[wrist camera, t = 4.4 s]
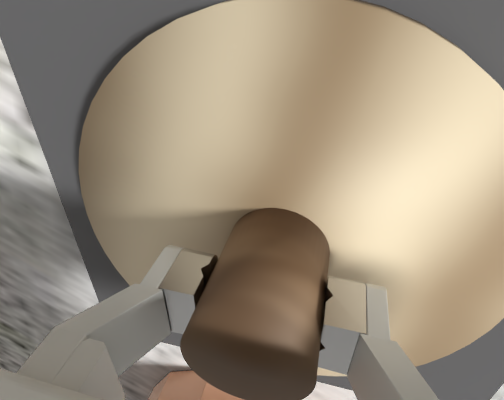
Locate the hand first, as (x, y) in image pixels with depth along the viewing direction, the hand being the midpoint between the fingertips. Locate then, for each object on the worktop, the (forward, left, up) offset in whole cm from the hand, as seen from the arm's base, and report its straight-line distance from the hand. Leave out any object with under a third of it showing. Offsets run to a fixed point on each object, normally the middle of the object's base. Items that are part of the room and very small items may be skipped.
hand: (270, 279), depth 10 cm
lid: (0, 0, -2) cm, 2 cm away
